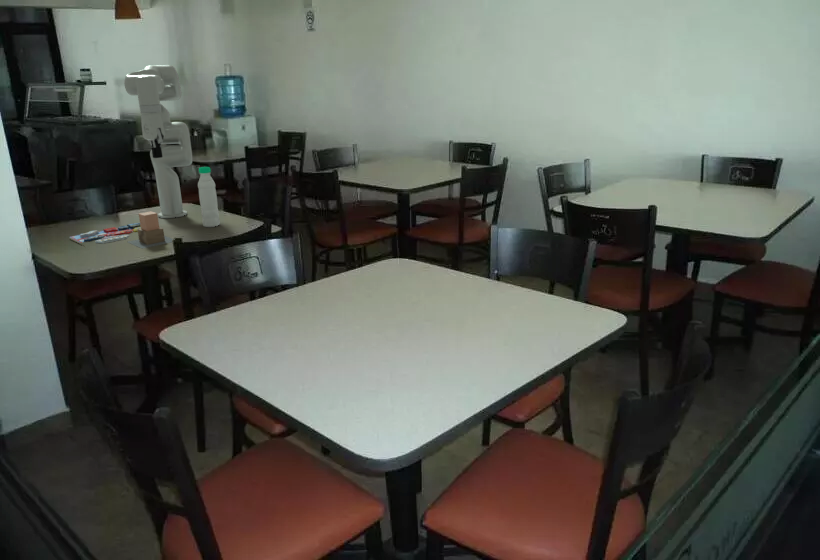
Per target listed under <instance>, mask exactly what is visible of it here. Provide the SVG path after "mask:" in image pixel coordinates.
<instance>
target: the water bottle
mask: <svg viewBox="0 0 820 560" xmlns="http://www.w3.org/2000/svg"><path fill="white" fill-rule="evenodd" d="M211 170H212V169H211V167H209V166H201V167H199V168H198V174H199V175H200V177H199V180H198V181H197V188H198V197H199V204H200V208H201V210H200V211H201V212H200V213H201V217H202V219H201V221H202V226H203V227H205V228H216V227H219V226H220V224H221V221H220V212H219V209H218V207H219V206H218V196H217V190H216V183H215V181H214V179H213V178H212V176H211V172H212V171H211ZM218 225H219V226H218ZM215 226H216V227H215Z"/></svg>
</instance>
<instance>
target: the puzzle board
mask: <svg viewBox="0 0 820 560" xmlns="http://www.w3.org/2000/svg"><path fill="white" fill-rule="evenodd" d="M140 228H141V226H140V222H136V223H130V224H128V223H127V224H126V225H121V226H120V225H119V226H118V227H115V226H114V227H107V228H103V230H100V231H99V230H97V229H96V230H90V231H88V232H85V233H80V234H76V235H73V236H71V235H70V236H69V240H71V241H73V242H74V243H76V242H77V244H78V243H79V244H78V245H80V244H81V245H80V246H82V245H83V247H85V245H84V244H83V243H86V242H92V241H94V242H95V244H108V243H112V242H113V243H115V242H117V241H124V240H127V239H128V238H129V237H130V234H131V233H132V234H133V233H138V230H137V229H140Z"/></svg>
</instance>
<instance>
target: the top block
mask: <svg viewBox="0 0 820 560" xmlns="http://www.w3.org/2000/svg"><path fill="white" fill-rule="evenodd" d="M138 218H139V223H140V226H141V229H143V230H145V231H150V230H155V229H160V228H161V227H160V223H159V217H158V213H157V212H154V211H151V210H150V211H146V212H141V213H140V212H139V213H138ZM159 227H160V228H159Z"/></svg>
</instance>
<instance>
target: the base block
mask: <svg viewBox="0 0 820 560" xmlns="http://www.w3.org/2000/svg"><path fill="white" fill-rule="evenodd" d="M159 228H160V229H155V230H150V231H145V230H143V229H141V228H140V229H137V230H138V232H137V234H138V236H137V237H138V239H139V242H142V243H144V244H146V245H149V244H154V243H158V242H163V241H165V237H164V236H165V231H164V228H162V227H160V226H159Z"/></svg>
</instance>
